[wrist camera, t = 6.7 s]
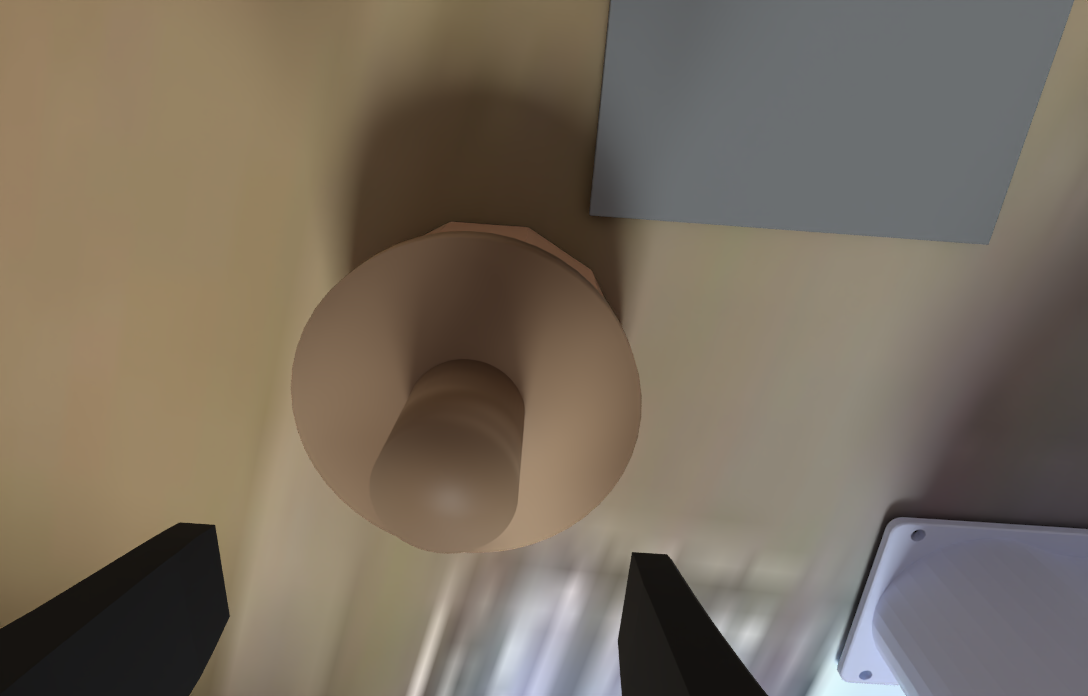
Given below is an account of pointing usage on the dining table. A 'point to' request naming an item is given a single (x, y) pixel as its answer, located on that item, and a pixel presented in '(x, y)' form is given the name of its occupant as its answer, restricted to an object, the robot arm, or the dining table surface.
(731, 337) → the dining table surface
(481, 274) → the lid
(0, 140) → the dining table surface
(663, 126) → the mat
